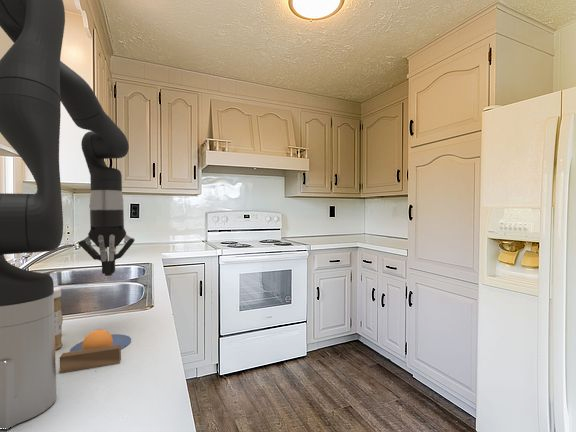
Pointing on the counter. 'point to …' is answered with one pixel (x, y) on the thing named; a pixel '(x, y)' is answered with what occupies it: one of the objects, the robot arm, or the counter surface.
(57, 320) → the sprinkles bottle
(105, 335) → the ball
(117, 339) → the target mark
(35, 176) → the robot arm
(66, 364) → the stopper wall
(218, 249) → the counter surface
